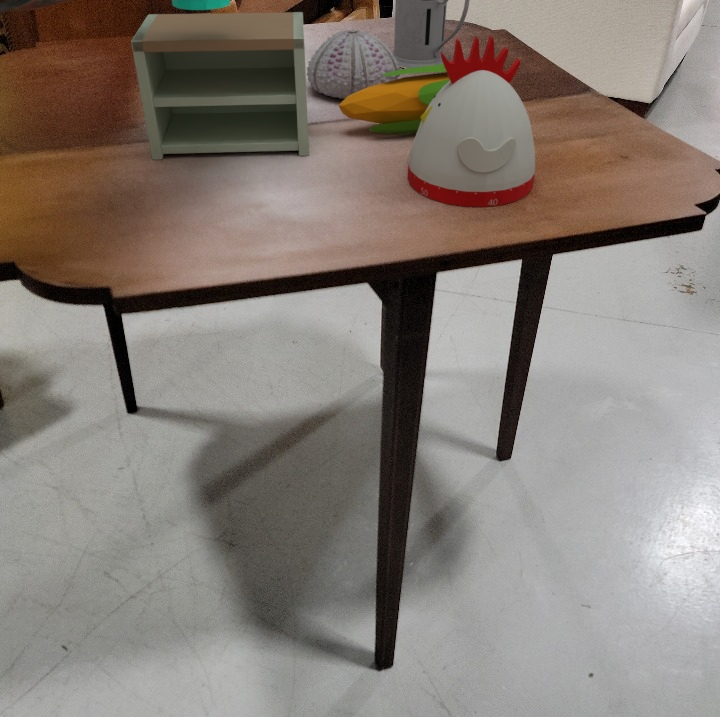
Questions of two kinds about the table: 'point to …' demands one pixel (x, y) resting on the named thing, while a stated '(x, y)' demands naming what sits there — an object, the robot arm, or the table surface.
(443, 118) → the kitchen timer
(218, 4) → the candle
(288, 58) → the rack
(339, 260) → the table surface
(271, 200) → the table surface
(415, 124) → the corn
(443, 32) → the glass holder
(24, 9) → the robot arm
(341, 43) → the sea urchin shell
